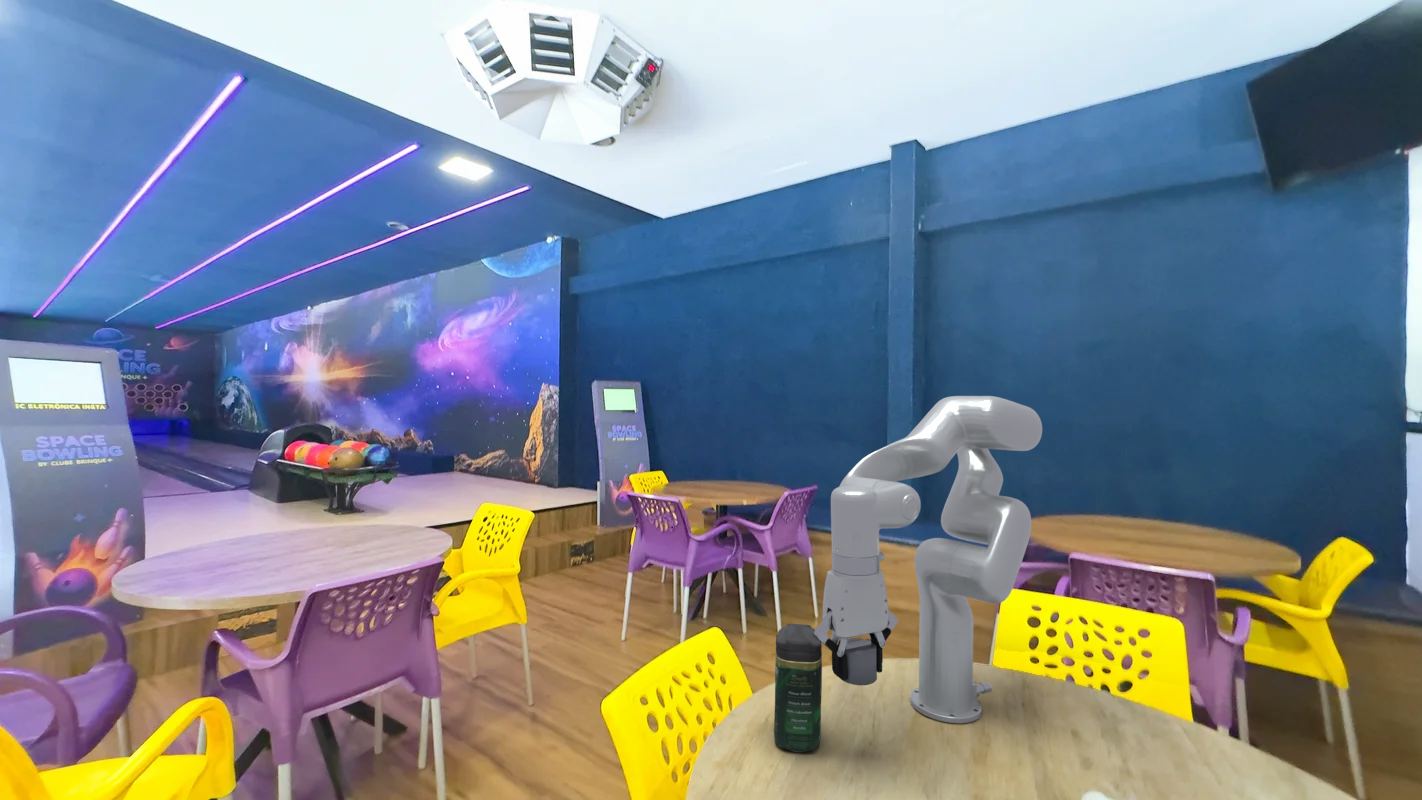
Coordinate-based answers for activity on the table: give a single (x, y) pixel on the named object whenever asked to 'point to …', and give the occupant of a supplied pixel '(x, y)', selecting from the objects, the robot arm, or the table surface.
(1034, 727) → the table surface
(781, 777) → the table surface
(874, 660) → the lid
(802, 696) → the coffee jar
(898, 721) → the table surface
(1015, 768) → the table surface
